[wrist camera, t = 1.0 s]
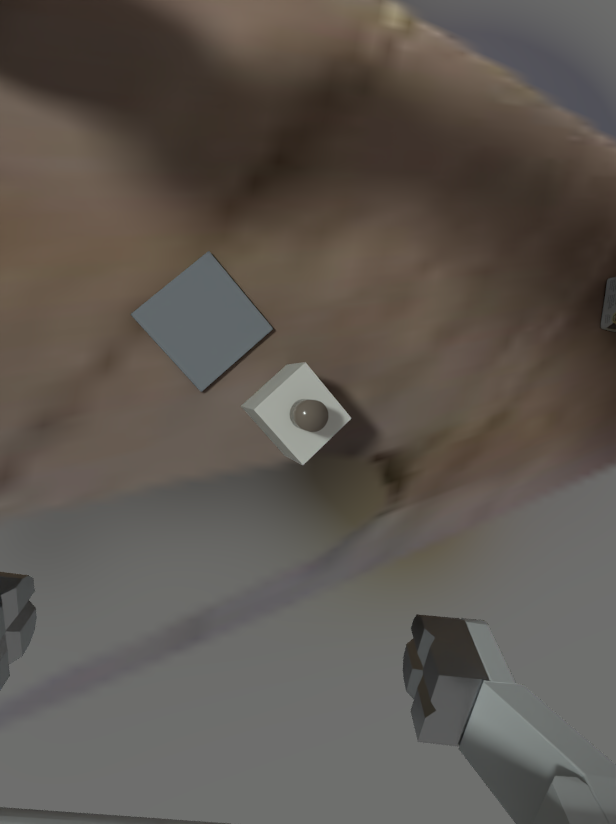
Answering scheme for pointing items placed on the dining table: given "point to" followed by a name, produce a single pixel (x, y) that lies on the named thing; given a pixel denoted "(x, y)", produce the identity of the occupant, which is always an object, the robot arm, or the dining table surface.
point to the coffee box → (609, 306)
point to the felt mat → (202, 321)
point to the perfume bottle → (296, 412)
